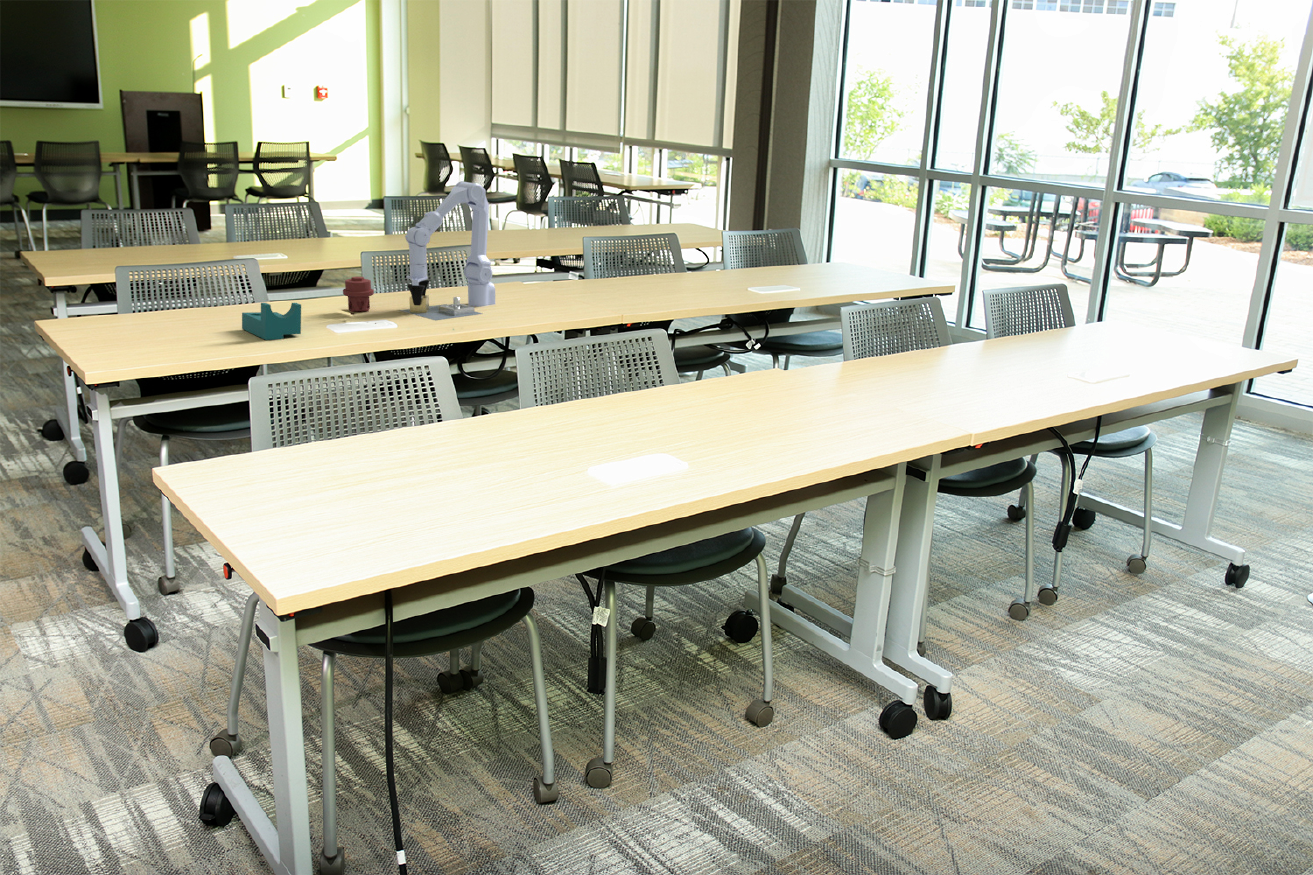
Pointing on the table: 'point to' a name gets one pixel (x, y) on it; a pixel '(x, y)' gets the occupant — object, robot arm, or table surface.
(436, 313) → the board
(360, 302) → the mechanical component
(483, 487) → the table surface
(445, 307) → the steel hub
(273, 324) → the teal l-shaped bracket
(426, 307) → the brass collar
